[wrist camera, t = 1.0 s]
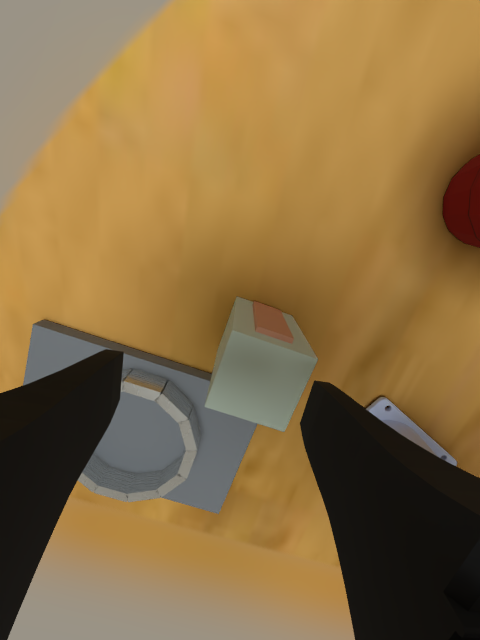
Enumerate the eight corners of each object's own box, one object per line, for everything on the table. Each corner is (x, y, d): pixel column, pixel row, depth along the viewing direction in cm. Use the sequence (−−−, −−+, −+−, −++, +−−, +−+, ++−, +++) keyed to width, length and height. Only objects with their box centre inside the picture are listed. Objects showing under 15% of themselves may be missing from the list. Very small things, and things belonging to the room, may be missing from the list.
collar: (215, 394, 22) (212, 413, 20) (178, 493, 25) (171, 521, 23) (51, 341, 21) (27, 355, 19) (31, 451, 24) (8, 475, 22)
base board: (266, 391, 24) (267, 399, 23) (219, 501, 27) (218, 513, 26) (44, 319, 22) (33, 324, 21) (22, 444, 25) (12, 454, 24)
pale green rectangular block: (293, 311, 22) (320, 353, 14) (271, 366, 23) (284, 432, 15) (238, 292, 22) (234, 324, 14) (218, 348, 23) (204, 406, 15)
